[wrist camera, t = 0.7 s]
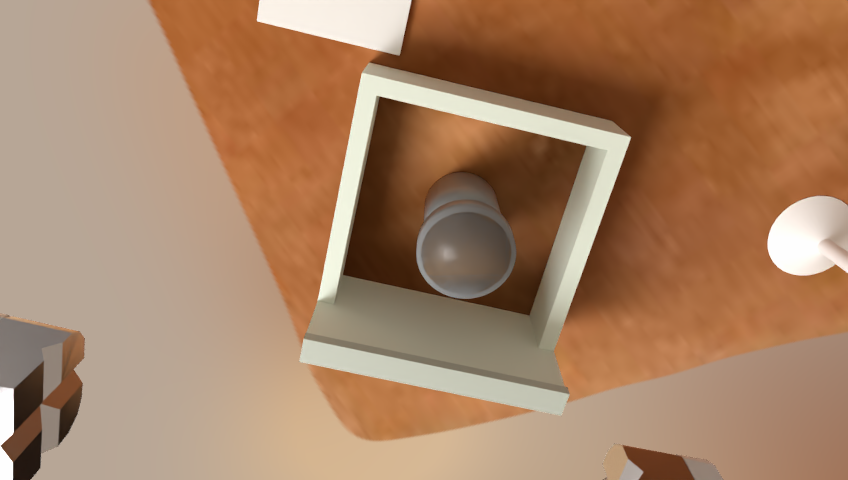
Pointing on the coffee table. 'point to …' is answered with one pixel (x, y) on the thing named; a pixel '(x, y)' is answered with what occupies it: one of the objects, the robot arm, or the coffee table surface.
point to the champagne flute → (810, 236)
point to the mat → (343, 20)
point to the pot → (464, 238)
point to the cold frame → (445, 317)
